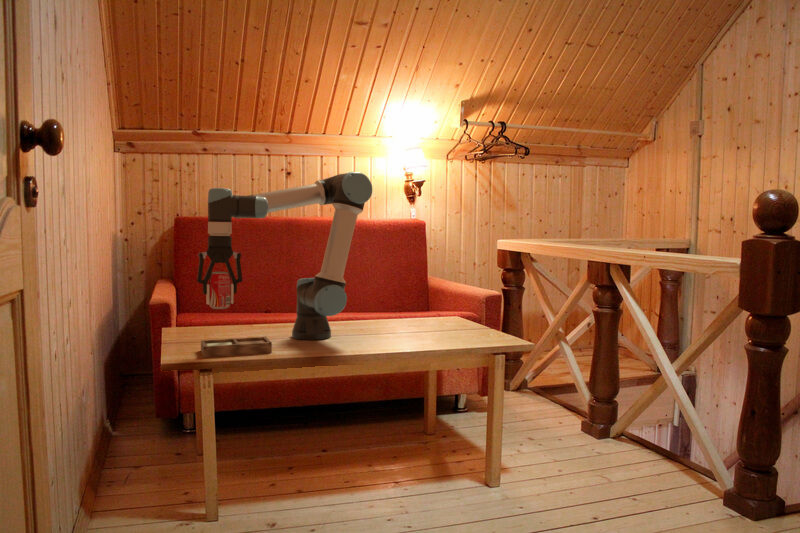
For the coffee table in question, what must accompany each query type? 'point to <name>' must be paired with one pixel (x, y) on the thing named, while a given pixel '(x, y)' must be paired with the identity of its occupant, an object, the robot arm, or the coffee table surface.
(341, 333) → the coffee table surface
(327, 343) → the coffee table surface
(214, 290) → the soda can
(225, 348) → the wooden tray
